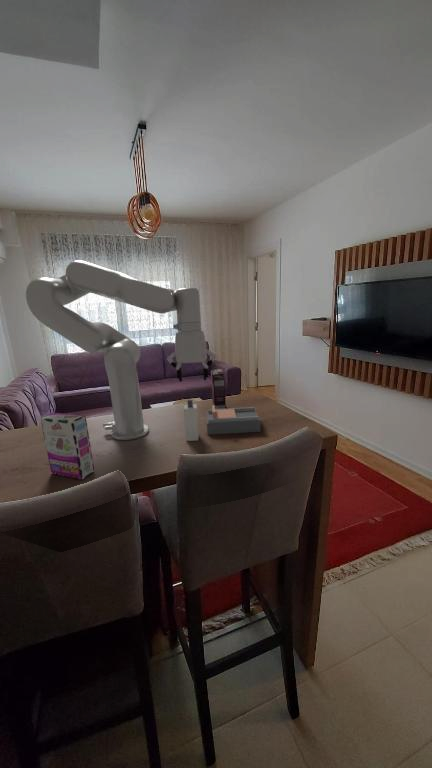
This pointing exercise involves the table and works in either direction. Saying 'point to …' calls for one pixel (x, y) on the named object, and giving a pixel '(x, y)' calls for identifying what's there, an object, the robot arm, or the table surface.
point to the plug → (191, 421)
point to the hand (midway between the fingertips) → (193, 379)
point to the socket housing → (234, 422)
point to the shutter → (223, 413)
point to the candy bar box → (68, 444)
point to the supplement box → (218, 389)
